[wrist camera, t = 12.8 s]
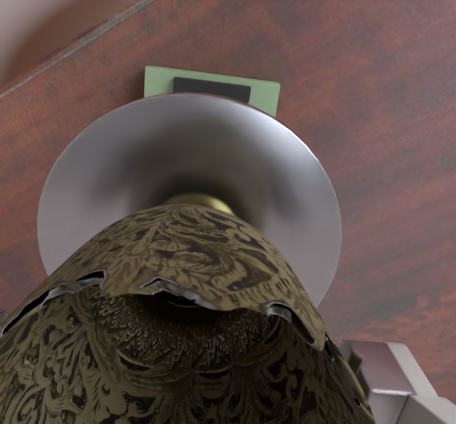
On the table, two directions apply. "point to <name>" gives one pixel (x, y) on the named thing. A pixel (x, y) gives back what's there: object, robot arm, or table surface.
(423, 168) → the table surface
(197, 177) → the brushed steel disc
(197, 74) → the scale
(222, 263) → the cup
